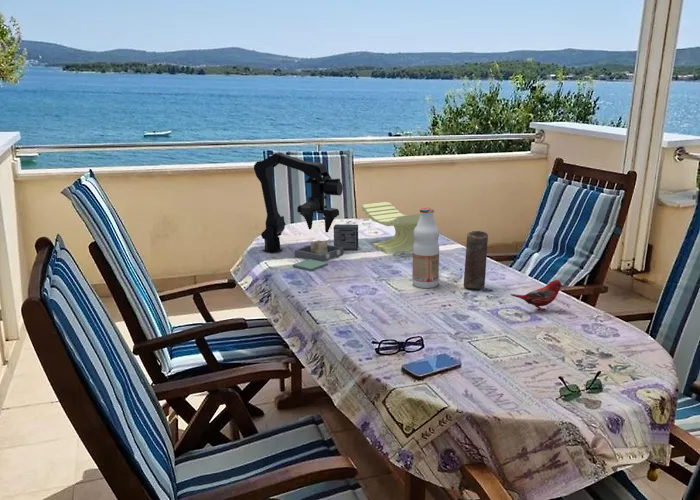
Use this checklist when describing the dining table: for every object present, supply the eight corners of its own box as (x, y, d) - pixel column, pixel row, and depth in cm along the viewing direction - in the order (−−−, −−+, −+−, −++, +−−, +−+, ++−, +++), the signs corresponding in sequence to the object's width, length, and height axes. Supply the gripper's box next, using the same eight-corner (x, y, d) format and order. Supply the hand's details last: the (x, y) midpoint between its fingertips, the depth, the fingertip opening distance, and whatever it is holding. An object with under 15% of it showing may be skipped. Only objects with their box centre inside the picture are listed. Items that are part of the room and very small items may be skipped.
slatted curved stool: (429, 253, 259) (430, 212, 255) (397, 258, 252) (398, 216, 248) (392, 238, 285) (392, 201, 280) (362, 242, 278) (362, 204, 273)
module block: (310, 256, 258) (310, 242, 256) (318, 253, 262) (318, 240, 260) (319, 258, 255) (319, 244, 253) (327, 255, 259) (327, 241, 257)
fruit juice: (414, 288, 215) (415, 211, 208) (410, 280, 224) (411, 206, 217) (440, 288, 216) (442, 211, 208) (435, 280, 225) (437, 205, 217)
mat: (292, 266, 243) (292, 264, 243) (309, 261, 250) (309, 258, 250) (311, 271, 237) (311, 268, 237) (327, 265, 245) (327, 262, 244)
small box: (358, 246, 272) (358, 223, 269) (357, 250, 265) (357, 227, 263) (335, 246, 273) (335, 223, 270) (333, 250, 266) (333, 227, 264)
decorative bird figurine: (563, 310, 193) (566, 280, 191) (511, 314, 191) (512, 284, 188) (559, 307, 196) (561, 278, 194) (507, 311, 193) (509, 281, 191)
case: (294, 256, 257) (294, 250, 256) (317, 249, 268) (317, 242, 267) (322, 262, 248) (322, 255, 247) (344, 254, 259) (344, 248, 258)
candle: (487, 286, 217) (490, 231, 212) (482, 292, 211) (485, 236, 206) (466, 283, 221) (468, 229, 215) (461, 289, 214) (463, 234, 209)
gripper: (287, 194, 251) (288, 231, 255) (321, 199, 239) (322, 237, 244) (305, 190, 259) (306, 226, 263) (339, 195, 248) (340, 232, 252)
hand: (318, 230), depth 255 cm, fingers open, 9 cm apart
